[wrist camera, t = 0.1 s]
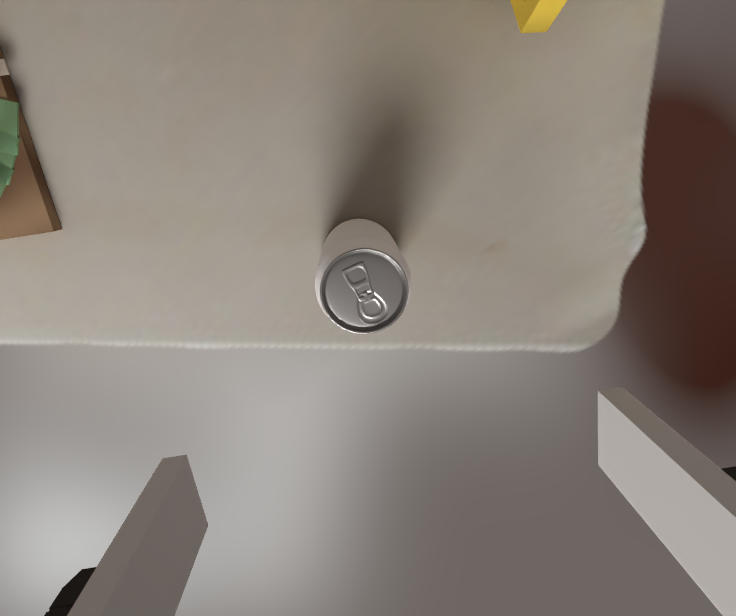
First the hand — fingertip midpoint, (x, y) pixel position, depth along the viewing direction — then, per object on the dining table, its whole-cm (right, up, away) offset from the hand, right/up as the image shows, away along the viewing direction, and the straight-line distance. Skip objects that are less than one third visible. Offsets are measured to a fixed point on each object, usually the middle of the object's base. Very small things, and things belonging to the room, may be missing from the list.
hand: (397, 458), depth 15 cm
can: (-2, +9, +27) cm, 28 cm away
